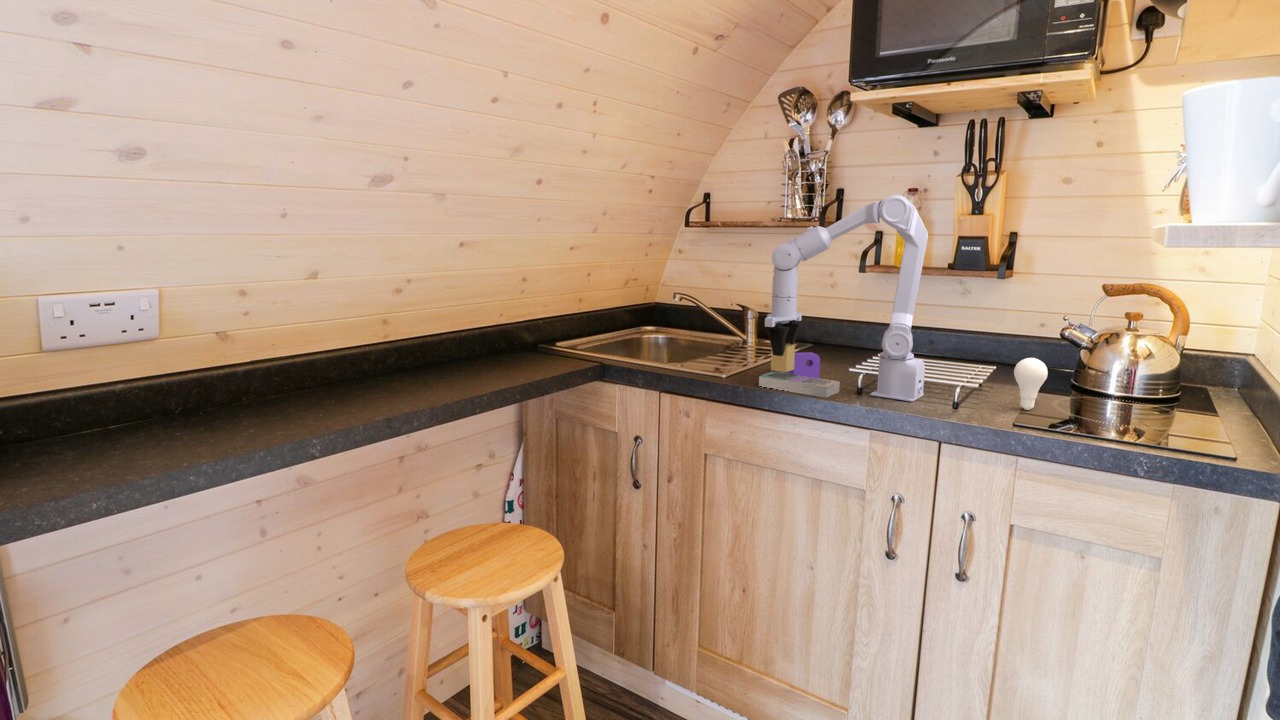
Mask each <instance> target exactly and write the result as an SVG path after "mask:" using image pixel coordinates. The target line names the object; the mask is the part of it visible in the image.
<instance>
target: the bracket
mask: <svg viewBox="0 0 1280 720" xmlns="http://www.w3.org/2000/svg"><path fill="white" fill-rule="evenodd" d="M808 361H809V362H808ZM807 362H808V364H807ZM820 365H821V358H820V355H818V354H817V353H814V352H812V351H811V352H808V351H807V352H795V358H794V370H791V371H788V372H784V373H791V374H798V375H799V376H806V377H813V378H820V371H821V369H820V368H821V366H820ZM776 372H781V371H776Z"/></svg>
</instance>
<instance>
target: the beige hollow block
mask: <svg viewBox="0 0 1280 720" xmlns="http://www.w3.org/2000/svg"><path fill="white" fill-rule="evenodd" d="M770 347H771V346H770ZM770 349H771V350H770V352H771V353H770V354H771V356H770V370H771V371H772V372H777V371H781V372H788V371H791V370H794V358H795V353H796V351H795V350H796V346H795V343H794V344H790V343H785V344H784V351H783V354H782V356H776V355H773V352H772V347H771V348H770Z"/></svg>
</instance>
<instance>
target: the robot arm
mask: <svg viewBox="0 0 1280 720" xmlns="http://www.w3.org/2000/svg"><path fill="white" fill-rule="evenodd" d="M880 219H881V220H882V222H883V223H885V224H886V225H888V226H890V227H891V228H893V229H894V230H895V231H896V232H897V233H898V234H899V236H900V237H901V238H902V240H903V241H904V248H903V251H902V257H901V262H900V263H901V264H900V267H899V273H898V279H897V285H896V289H895V295H894V301H893V306H892V312H891V317H890V323H889V325H888V327H887V328H886V330H885V331H884V332H883V336H882V341H881V347H882V350H883V351H882V352H880V353H879V357H878V373H877V389H876V390H875V391H873V392H871V393H870V396H873V397H878V398H886V399H893V400H899V401H904V402H911V403H913V402H915V401H917V400H918V399H920V398H922V397H923V396H925V394H924V387H925V386H924V385H925V373H926V365H925V361H924V360H923V359H917V358H915V355H914V353H912V349H913V348H914V347H913V345H914V342H913V339H914V338H913V334H912V326H913V320H914V319H913V318H914V313H915V308H916V302H917V297H918V292H919V287H920V286H919V285H920V281H921V276H922V271H923V270H922V269H923V265H924V260H925V255H926V251H927V245H928V239H929V233H928V230H927V228H926V227H925V224H924V222H923V220H922V218H921V215H919V212H918V210H917V209H916V206H915V205H914V204H913V203H912V202H911V201H910V200H908V199H907V198H906V197H905V196H903V195H901V194H893V195H889V196H887V197H885V198H884V199H883V200H881V199H880V200H877V201H874V202H871V203H869V204H866V205H864V206H862V207H861V208H859V209H857V210H855V211H854V212H852V213H850V214H849V215H846V216H845V217H843V218H842V219H840V220H838V221H837V222H836V221H835V222H834V223H832V224H830V225H829V226H827V227H823V226H819V225H817V226H815V227H813V226H812V225H811V226H809V227H807V228H806V231H805V232H804V233H802V234H800V235H797V236H796V237H794V238H793V237H790V238H789V239H788V240H787V241H788V243H780V244H779V245H778V246H777V247H775V249H774V250H773V252H772V254H771V261H772V264H773V265H774V266H773V276H772V288H771V289H772V290H771V291H772V292H771V293H772V294H771V297H772V298H771V313H768V314H767V313H766V317H765V318H764V330H765V332H766V334H767V336H768V339H769V342H770V347H772V352H773V355H776V356H782V354H783V351H784V344H785V343H790V344H795V341H796V338H797V336H798V334H799V331H801V328H802V327H803V323H802V322H800V321H802V315H803V314H802V312H797V311H798V310H797V308H798V285H799V276H798V270H799V268H798V267H799V266H798V265H799V264H800V262H801V261H802V262H806V261H809V260H810V259H812V258H814V257H816V256H818V255H819V254H821V253H823V252H825V251H827V250H829V249H830V248H831V245H832V242H833V240H835V239H838V238H839V237H841V236H844V235H845V234H847V233H849V232H851V231H854V230H855V229H857V228H859V227H862V226H863V225H867V224H880Z"/></svg>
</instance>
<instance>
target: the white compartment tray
mask: <svg viewBox="0 0 1280 720" xmlns="http://www.w3.org/2000/svg"><path fill="white" fill-rule="evenodd" d="M840 382H841V381H838V380H832V379H824V378H820V377H819V378H813V377H806V376H799V375H798V374H791V373H784V372H777V371H770V372H766V373H763V374H761V375H760V376H759V377H758V387H759V386H762V387H761V388H763V387H767V388H766V389H769V388H773V389H772V390H776V389H778V390H777V391H782V390H784V392H788V391H789V393H794V394H795V393H796V394H801V395H808V396H814V397H819V398H826V399H827V398H829V397H830V396H833V395H836V394H838V393H839V392H840V384H841V383H840Z"/></svg>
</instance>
